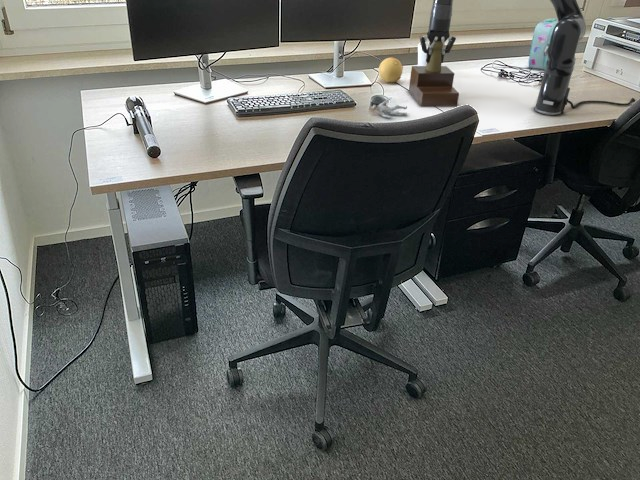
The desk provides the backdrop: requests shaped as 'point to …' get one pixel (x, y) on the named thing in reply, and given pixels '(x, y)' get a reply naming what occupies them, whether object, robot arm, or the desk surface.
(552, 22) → the lunch box
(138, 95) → the desk surface
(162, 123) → the desk surface
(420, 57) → the foam cup
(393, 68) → the stress ball
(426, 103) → the step shelf
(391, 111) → the soldier figure
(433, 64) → the olive pawn
